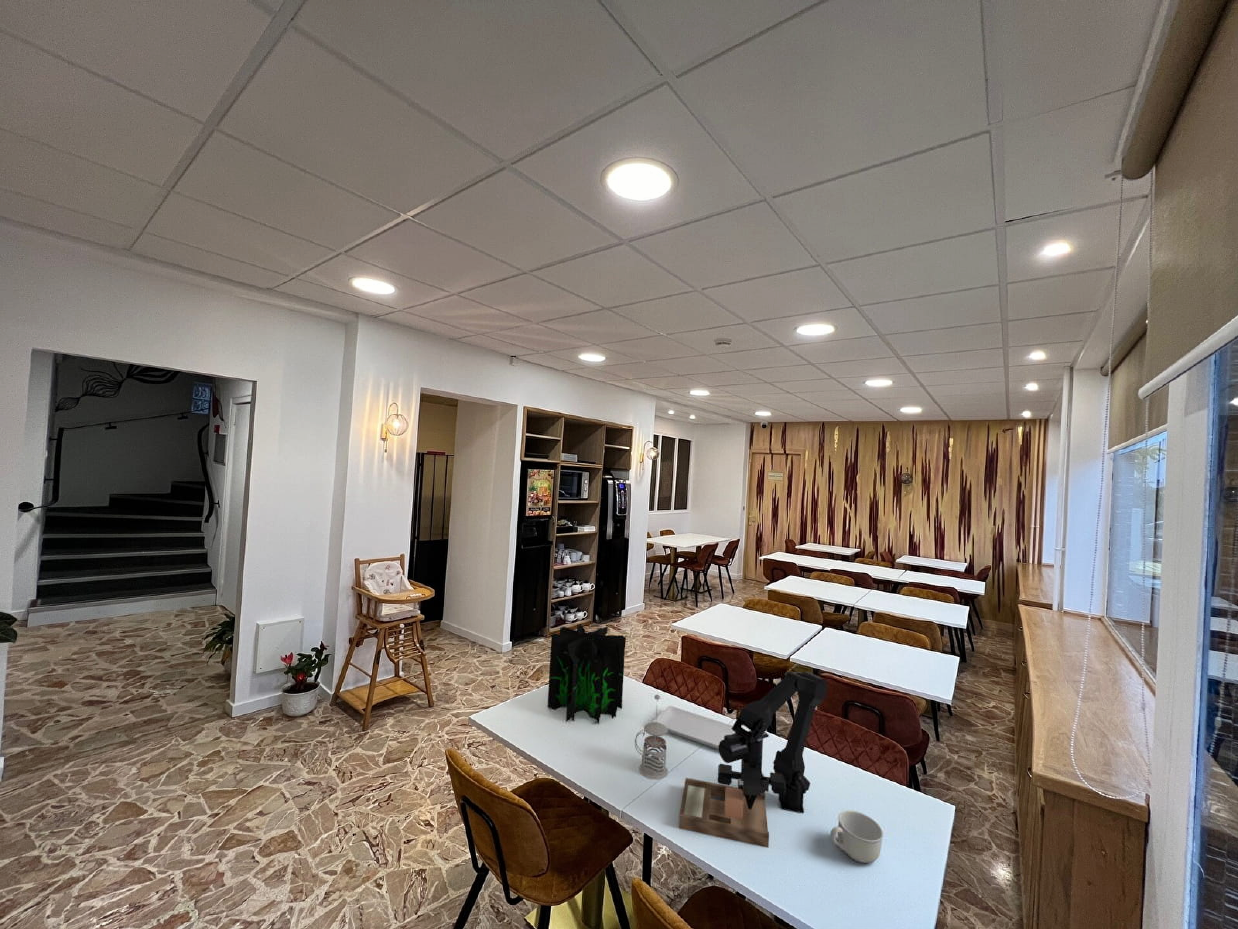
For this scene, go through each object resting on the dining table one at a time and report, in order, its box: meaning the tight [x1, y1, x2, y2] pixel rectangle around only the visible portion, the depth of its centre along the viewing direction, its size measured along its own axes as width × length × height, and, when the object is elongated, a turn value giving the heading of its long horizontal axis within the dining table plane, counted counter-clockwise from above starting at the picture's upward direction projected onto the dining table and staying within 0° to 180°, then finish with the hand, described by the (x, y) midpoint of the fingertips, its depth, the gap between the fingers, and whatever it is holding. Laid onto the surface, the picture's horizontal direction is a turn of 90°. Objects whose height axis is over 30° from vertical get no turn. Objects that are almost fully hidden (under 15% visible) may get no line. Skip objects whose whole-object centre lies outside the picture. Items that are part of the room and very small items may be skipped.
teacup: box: [830, 809, 884, 864], centre depth 132 cm, size 14×11×8 cm
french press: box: [634, 694, 669, 781], centre depth 165 cm, size 10×12×25 cm
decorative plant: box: [547, 623, 627, 724], centre depth 207 cm, size 29×30×30 cm
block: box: [725, 787, 743, 819], centre depth 143 cm, size 5×5×5 cm
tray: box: [651, 705, 735, 751], centre depth 190 cm, size 17×32×4 cm, turn 58°
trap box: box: [678, 777, 770, 848], centre depth 144 cm, size 24×18×4 cm
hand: (749, 808), depth 142 cm, fingers closed
